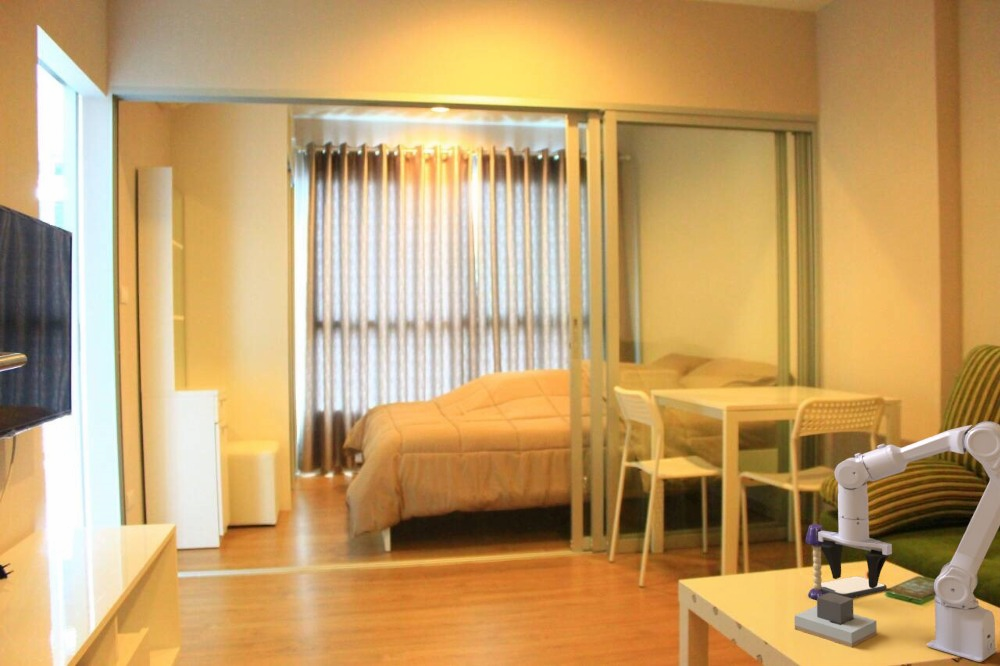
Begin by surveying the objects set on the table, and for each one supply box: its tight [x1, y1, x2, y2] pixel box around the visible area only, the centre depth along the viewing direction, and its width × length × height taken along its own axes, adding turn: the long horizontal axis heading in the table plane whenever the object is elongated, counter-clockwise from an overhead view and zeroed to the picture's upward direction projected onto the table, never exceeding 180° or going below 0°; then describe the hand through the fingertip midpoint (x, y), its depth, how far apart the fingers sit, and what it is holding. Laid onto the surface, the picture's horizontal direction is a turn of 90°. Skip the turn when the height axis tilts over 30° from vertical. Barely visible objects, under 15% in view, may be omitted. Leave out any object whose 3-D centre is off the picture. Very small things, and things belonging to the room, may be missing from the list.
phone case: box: [821, 575, 888, 599], centre depth 179 cm, size 9×2×16 cm
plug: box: [816, 592, 854, 625], centre depth 154 cm, size 5×5×6 cm
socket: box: [794, 605, 878, 648], centre depth 154 cm, size 12×10×3 cm
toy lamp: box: [805, 523, 827, 601], centre depth 174 cm, size 5×5×17 cm
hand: (854, 582), depth 156 cm, fingers open, 7 cm apart
